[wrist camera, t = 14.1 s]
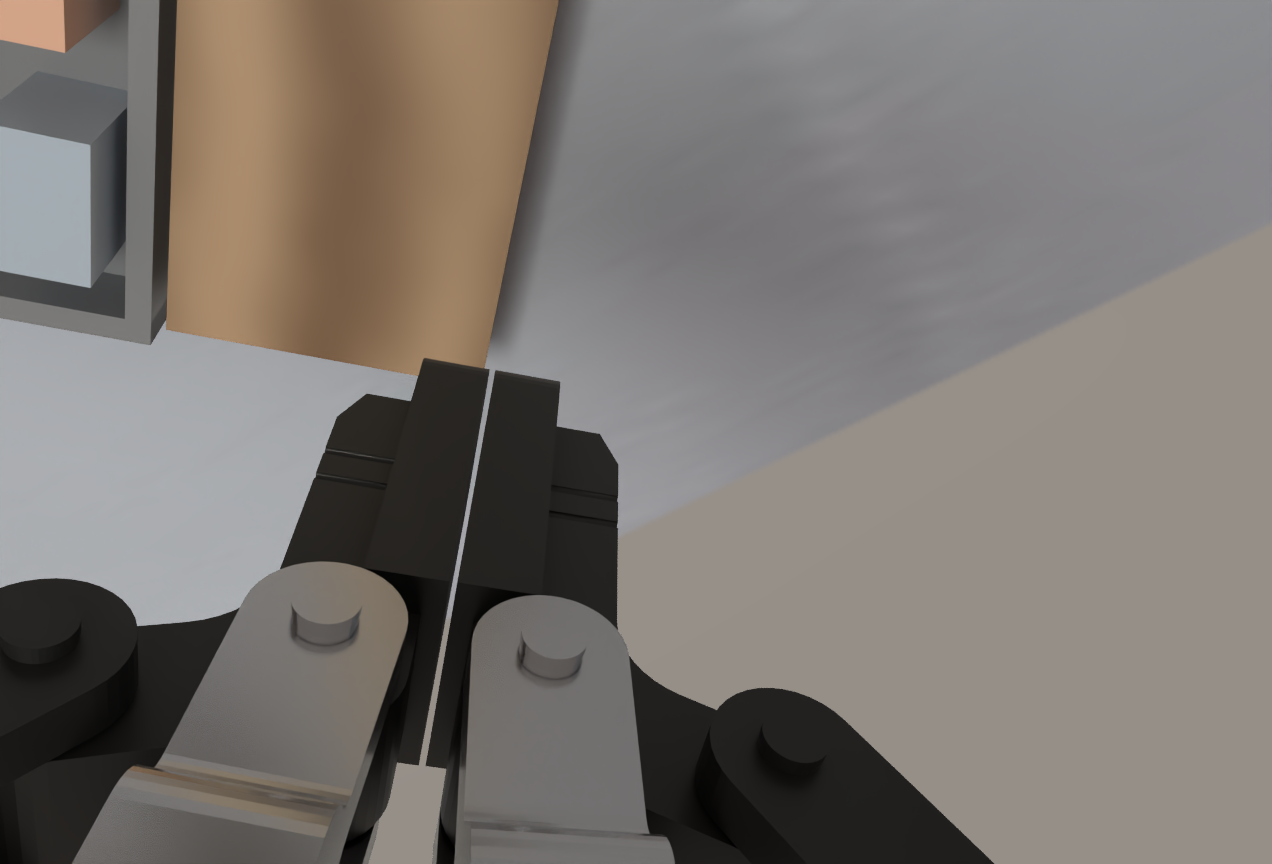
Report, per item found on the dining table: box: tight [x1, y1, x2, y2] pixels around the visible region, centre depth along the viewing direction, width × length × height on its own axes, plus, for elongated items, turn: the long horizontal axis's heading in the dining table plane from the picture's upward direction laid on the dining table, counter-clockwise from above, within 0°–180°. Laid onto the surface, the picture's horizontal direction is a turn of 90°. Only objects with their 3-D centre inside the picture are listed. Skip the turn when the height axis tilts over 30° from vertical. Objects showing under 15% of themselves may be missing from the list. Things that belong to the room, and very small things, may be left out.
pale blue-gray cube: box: [0, 71, 128, 288], centre depth 36 cm, size 4×4×3 cm
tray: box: [0, 0, 177, 345], centre depth 35 cm, size 8×17×4 cm, turn 166°
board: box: [166, 0, 559, 376], centre depth 36 cm, size 10×15×4 cm, turn 166°
